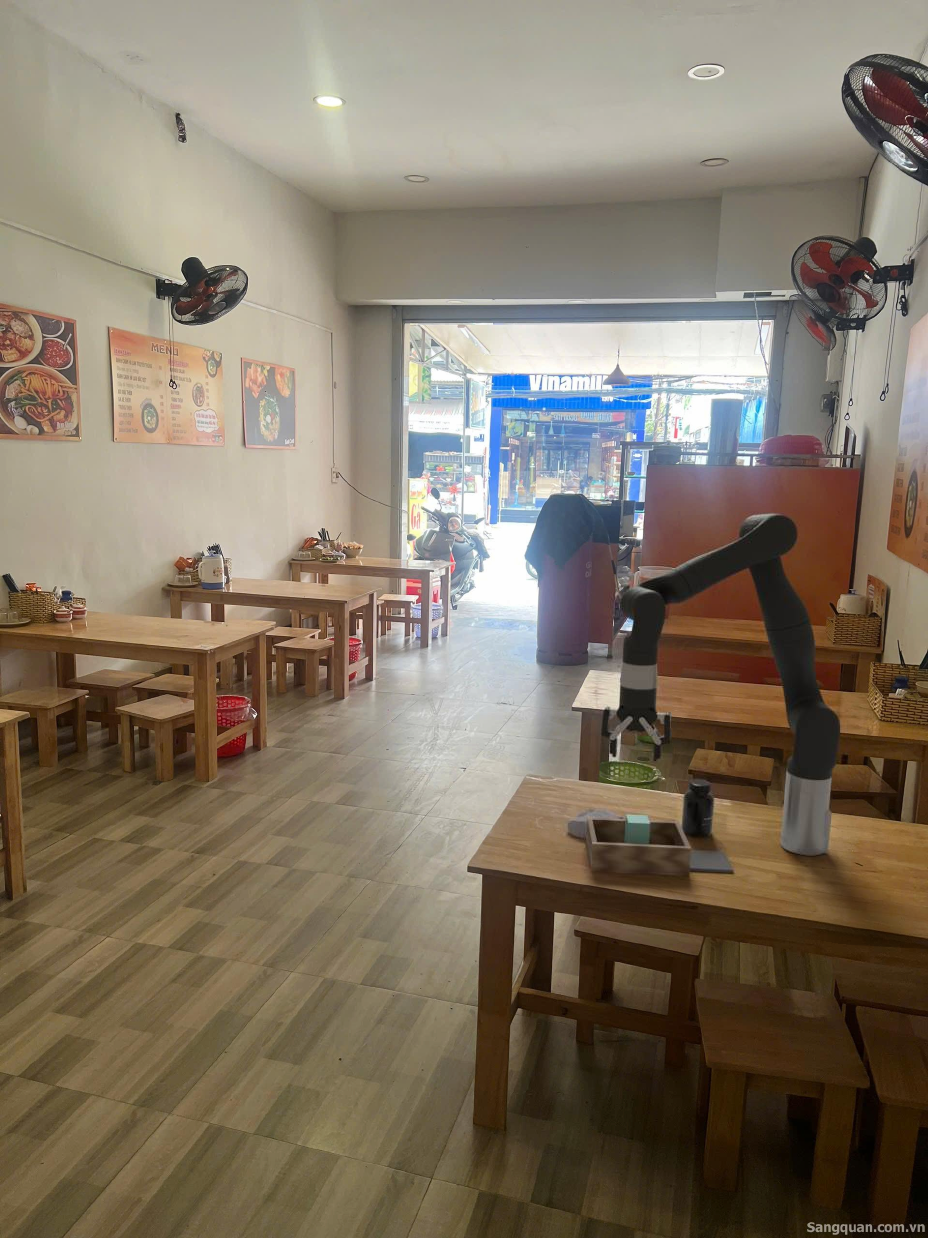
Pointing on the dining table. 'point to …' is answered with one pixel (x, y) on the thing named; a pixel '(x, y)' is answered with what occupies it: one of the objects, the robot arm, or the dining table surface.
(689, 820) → the supplement bottle
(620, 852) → the crate
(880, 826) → the dining table surface
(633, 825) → the block
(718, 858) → the mat
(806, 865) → the dining table surface
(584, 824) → the stone block
